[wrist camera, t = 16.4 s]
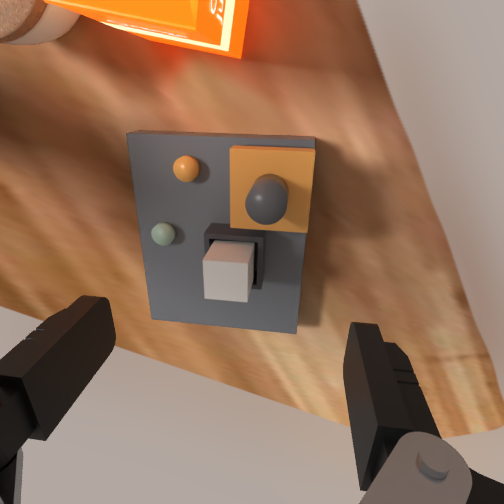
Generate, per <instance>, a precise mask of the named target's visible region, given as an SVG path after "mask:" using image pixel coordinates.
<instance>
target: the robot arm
mask: <svg viewBox="0 0 504 504" xmlns="http://www.w3.org/2000/svg"><path fill="white" fill-rule="evenodd" d="M115 341H116V333H115V328H114V322H113V317H112V312H111V307H110V303H109V300H108V299H107V298H105V297H96V296H86V295H83V296H81V297H79V298H78V299H77V300H76V301H75V302H74V303H73V304H71V305H70V306H69V307H68V308H67V309H63V310H62V311H60V312H58V313H56V314H54V315H52V316H50V317H48V318H47V319H46V320H45V321H44V322H43V323H42V324H40V325H39V326H38V327H37V328H36V331H33V332H31V333H30V334H29V335H28V336H27V337H26V339H25V340H22V341H21V342H20V343H19V344H18V345H17V346H15V347H14V348H13V349H12V350H11V351H10V352H8V353H7V354H6V355H5V356H4V357H3V358H2V359H0V504H20V502H21V484H22V468H23V451H22V448H21V446H22V445H23V444H24V443H25V441H26V440H27V439H28V438H30V439H36V440H43V441H46V440H47V438H48V437H49V436H50V434H51V433H52V432H53V430H54V429H55V428H56V426H57V425H58V424H59V422H60V421H61V419H62V418H63V417H64V415H65V414H66V413H67V411H68V410H69V409H70V407H71V406H72V405H73V403H74V402H75V401H76V399H77V398H78V397H79V395H80V394H81V392H82V391H83V390H84V389H85V387H86V386H87V384H88V383H89V382H90V380H91V379H92V378H93V376H94V375H95V374H96V372H97V371H98V370H99V368H100V367H101V366H102V364H103V363H104V362H105V360H106V359H107V358H108V356H109V355H110V353H111V352H112V350H113V348H114V345H115ZM343 379H344V386H345V393H346V400H347V406H348V413H349V419H350V426H351V433H352V439H353V446H354V453H355V459H356V466H357V472H358V479H359V486H360V490H362V491H367V492H366V494H365V495H364V497H363V498H362V500H361V501H360V503H359V504H504V484H502V483H500V482H497V481H495V480H493V479H490V478H488V477H486V476H483V475H481V474H479V473H477V472H476V471H474V470H472V469H471V468H469V467H468V465H467V464H466V462H465V460H464V459H463V457H462V456H461V455H460V454H459V453H458V452H457V451H456V450H455V449H454V448H453V447H452V446H451V445H450V444H448V443H447V442H446V441H444V440H442V438H441V436H440V434H439V431H438V429H437V426H436V424H435V422H434V419H433V417H432V414H431V412H430V409H429V407H428V405H427V402H426V400H425V397H424V395H423V392H422V390H421V388H420V386H419V383H418V380H417V378H416V375H415V374H414V371H413V368H412V366H411V363H410V361H409V358H408V356H407V355H406V354H405V353H404V352H403V351H402V350H401V349H400V348H399V347H398V345H397V344H396V343H390V342H384V341H383V338H382V335H381V332H380V329H379V327H378V325H377V324H369V323H359V322H352V323H351V325H350V329H349V335H348V340H347V345H346V351H345V356H344V363H343Z"/></svg>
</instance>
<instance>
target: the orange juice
mask: <svg viewBox="0 0 504 504" xmlns="http://www.w3.org/2000/svg"><path fill="white" fill-rule="evenodd" d="M44 2H45V3H50V4H54V5H57V6H60V7H63V8H65V9H68V10H71V11H73V12H76V13H79V14H81V15H84V16H87V17H89V18H92V19H95V20H97V21H100V22H101V23H103V24H106V25H109V26H112V27H114V28H117V29H121V30H124V31H127V32H129V33H132V34H135V35H137V36H140V37H143V38H145V39H148V40H151V41H156V42H161V43H166V44H171V45H175V46H180V47H185V48H190V49H195V50H200V51H205V52H210V53H215V54H219V55H224V56H229V57H234V58H239V59H241V55H242V48H243V41H244V34H245V27H246V21H247V14H248V7H249V0H44Z"/></svg>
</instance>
